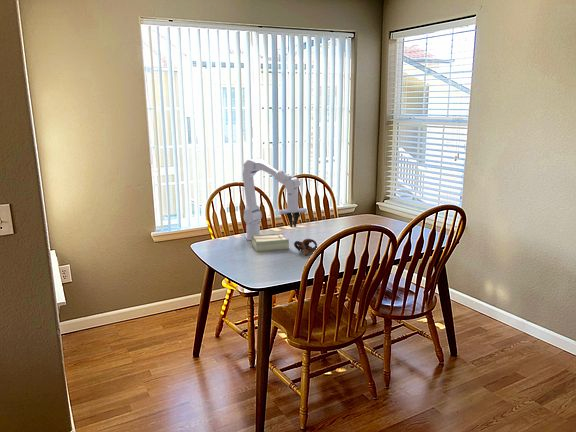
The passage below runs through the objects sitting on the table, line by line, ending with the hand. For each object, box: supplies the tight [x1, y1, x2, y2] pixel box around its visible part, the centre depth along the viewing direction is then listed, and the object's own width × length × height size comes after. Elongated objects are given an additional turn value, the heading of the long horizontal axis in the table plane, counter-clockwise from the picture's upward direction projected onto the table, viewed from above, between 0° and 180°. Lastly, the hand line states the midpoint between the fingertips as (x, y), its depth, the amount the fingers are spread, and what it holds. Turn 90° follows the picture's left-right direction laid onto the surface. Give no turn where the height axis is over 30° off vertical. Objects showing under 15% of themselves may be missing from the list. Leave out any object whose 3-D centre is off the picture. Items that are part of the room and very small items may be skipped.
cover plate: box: [253, 234, 287, 242], centre depth 254 cm, size 11×15×2 cm
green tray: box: [251, 232, 290, 253], centre depth 254 cm, size 13×17×5 cm
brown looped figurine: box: [293, 238, 318, 257], centre depth 243 cm, size 12×10×8 cm
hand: (293, 226), depth 255 cm, fingers closed
